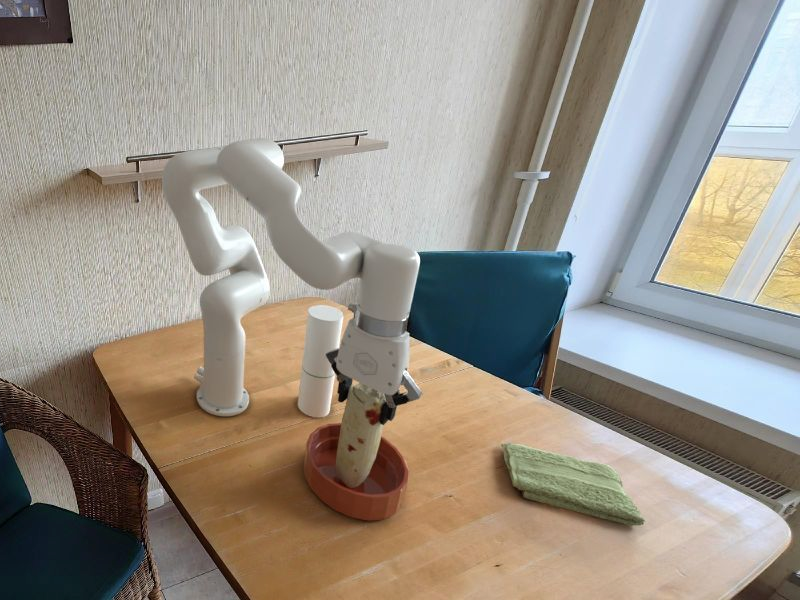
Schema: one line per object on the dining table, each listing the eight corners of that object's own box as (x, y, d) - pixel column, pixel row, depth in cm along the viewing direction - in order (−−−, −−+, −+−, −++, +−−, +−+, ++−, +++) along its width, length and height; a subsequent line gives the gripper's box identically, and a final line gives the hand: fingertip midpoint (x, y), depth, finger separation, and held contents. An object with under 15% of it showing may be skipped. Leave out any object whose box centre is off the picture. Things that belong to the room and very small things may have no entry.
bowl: (285, 476, 82) (288, 452, 80) (332, 433, 92) (336, 411, 90) (375, 542, 70) (381, 516, 68) (418, 484, 80) (424, 460, 78)
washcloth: (496, 446, 88) (500, 434, 87) (610, 476, 80) (617, 463, 79) (511, 496, 77) (516, 483, 76) (646, 536, 70) (654, 522, 68)
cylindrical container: (329, 400, 102) (342, 307, 93) (330, 420, 96) (344, 322, 87) (298, 394, 104) (308, 303, 96) (296, 413, 98) (307, 318, 89)
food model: (366, 501, 75) (387, 410, 68) (327, 483, 78) (343, 395, 71) (375, 462, 82) (394, 377, 75) (338, 448, 86) (354, 365, 79)
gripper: (318, 309, 73) (308, 394, 79) (430, 351, 60) (406, 448, 67) (341, 296, 77) (329, 377, 83) (449, 333, 65) (426, 426, 71)
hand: (363, 408), depth 75 cm, fingers closed on food model, 6 cm apart
